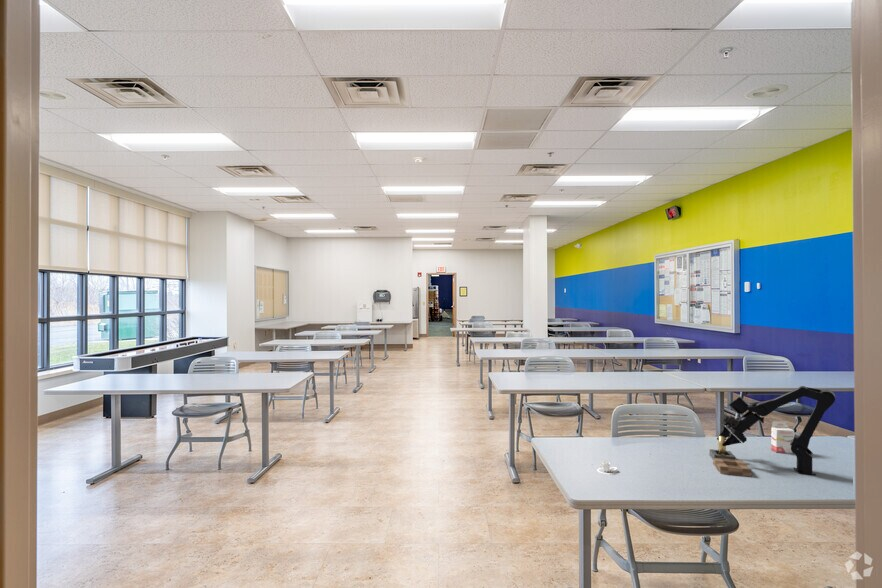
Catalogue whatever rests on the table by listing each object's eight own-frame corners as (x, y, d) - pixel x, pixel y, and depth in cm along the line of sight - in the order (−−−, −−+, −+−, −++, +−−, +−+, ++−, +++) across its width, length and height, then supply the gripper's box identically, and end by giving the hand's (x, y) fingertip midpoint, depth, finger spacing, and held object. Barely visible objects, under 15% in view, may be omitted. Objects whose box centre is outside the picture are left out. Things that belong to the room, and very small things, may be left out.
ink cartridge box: (776, 452, 241) (776, 423, 241) (770, 449, 246) (770, 421, 246) (794, 453, 240) (794, 424, 240) (788, 450, 245) (788, 421, 245)
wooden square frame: (751, 476, 209) (751, 469, 209) (720, 473, 213) (720, 466, 213) (742, 466, 221) (742, 460, 221) (713, 464, 224) (713, 457, 224)
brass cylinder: (726, 460, 229) (726, 437, 229) (719, 459, 230) (719, 437, 230) (724, 458, 232) (725, 435, 232) (717, 457, 233) (717, 435, 233)
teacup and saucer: (619, 471, 216) (619, 462, 216) (615, 476, 209) (615, 467, 209) (599, 467, 221) (599, 458, 221) (595, 473, 214) (595, 463, 214)
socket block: (735, 463, 225) (735, 456, 225) (714, 461, 228) (714, 455, 228) (729, 457, 234) (729, 450, 234) (709, 455, 237) (709, 449, 237)
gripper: (727, 404, 239) (702, 424, 242) (738, 413, 221) (712, 435, 224) (744, 421, 237) (719, 441, 240) (758, 432, 219) (730, 453, 222)
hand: (720, 442), depth 231 cm, fingers open, 9 cm apart
